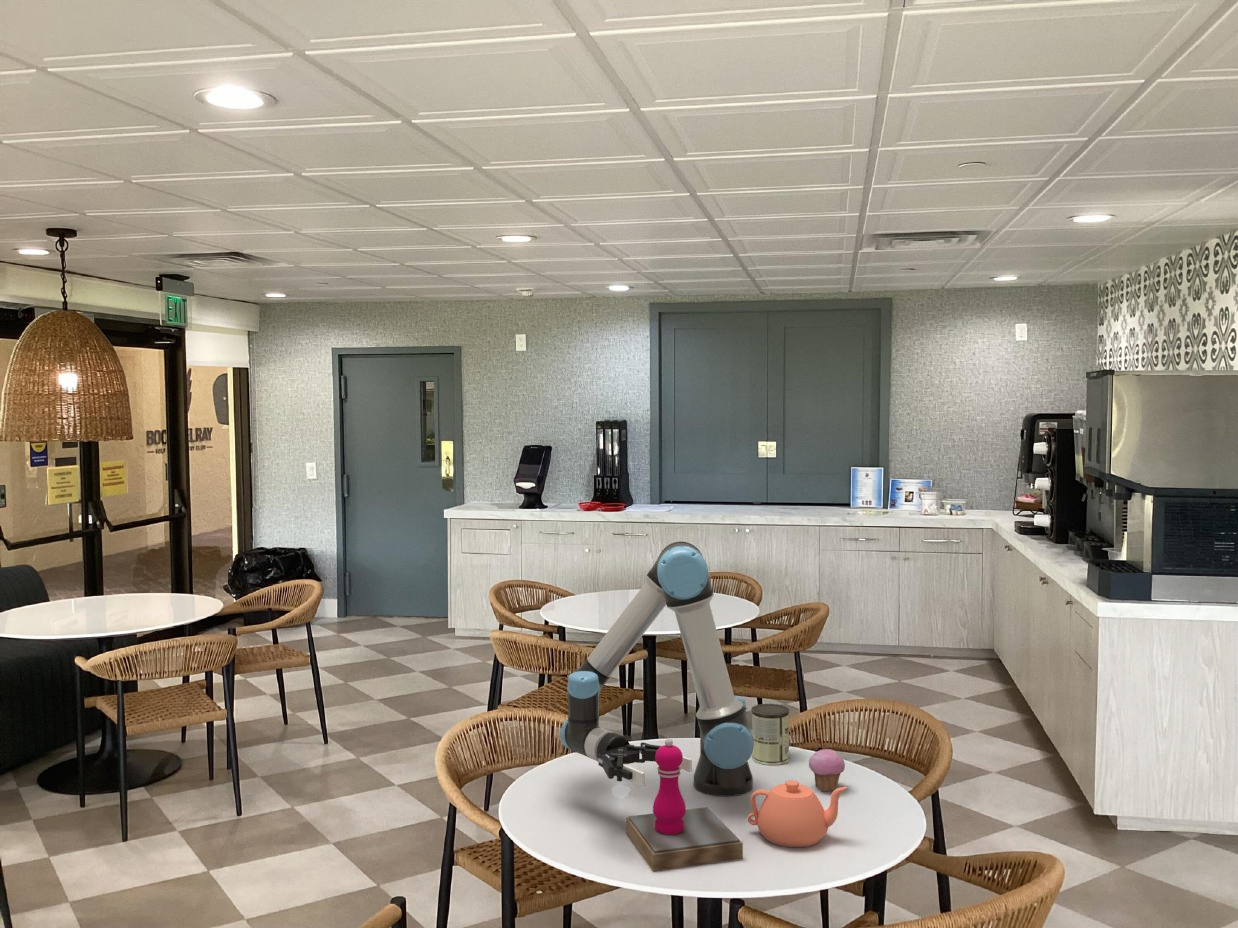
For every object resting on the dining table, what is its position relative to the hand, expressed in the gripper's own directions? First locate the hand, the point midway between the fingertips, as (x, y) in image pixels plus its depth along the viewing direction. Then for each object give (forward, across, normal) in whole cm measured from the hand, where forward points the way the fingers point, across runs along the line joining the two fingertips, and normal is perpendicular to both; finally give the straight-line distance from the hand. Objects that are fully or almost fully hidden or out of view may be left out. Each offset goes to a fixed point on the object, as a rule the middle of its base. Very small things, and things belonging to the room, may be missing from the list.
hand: (667, 772), depth 216 cm
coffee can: (-25, -59, -17) cm, 67 cm away
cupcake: (0, -54, -17) cm, 56 cm away
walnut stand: (+1, -3, -17) cm, 17 cm away
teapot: (+14, -26, -17) cm, 34 cm away
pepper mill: (0, 0, -13) cm, 13 cm away
